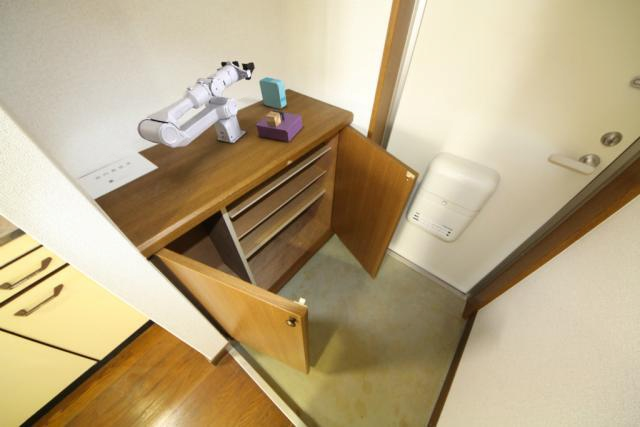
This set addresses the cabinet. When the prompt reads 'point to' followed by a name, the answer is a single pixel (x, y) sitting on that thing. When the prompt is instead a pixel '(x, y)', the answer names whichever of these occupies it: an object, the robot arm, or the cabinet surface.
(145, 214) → the cabinet surface
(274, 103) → the teal flat upright piece
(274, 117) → the block
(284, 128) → the lid
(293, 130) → the purple flat box
